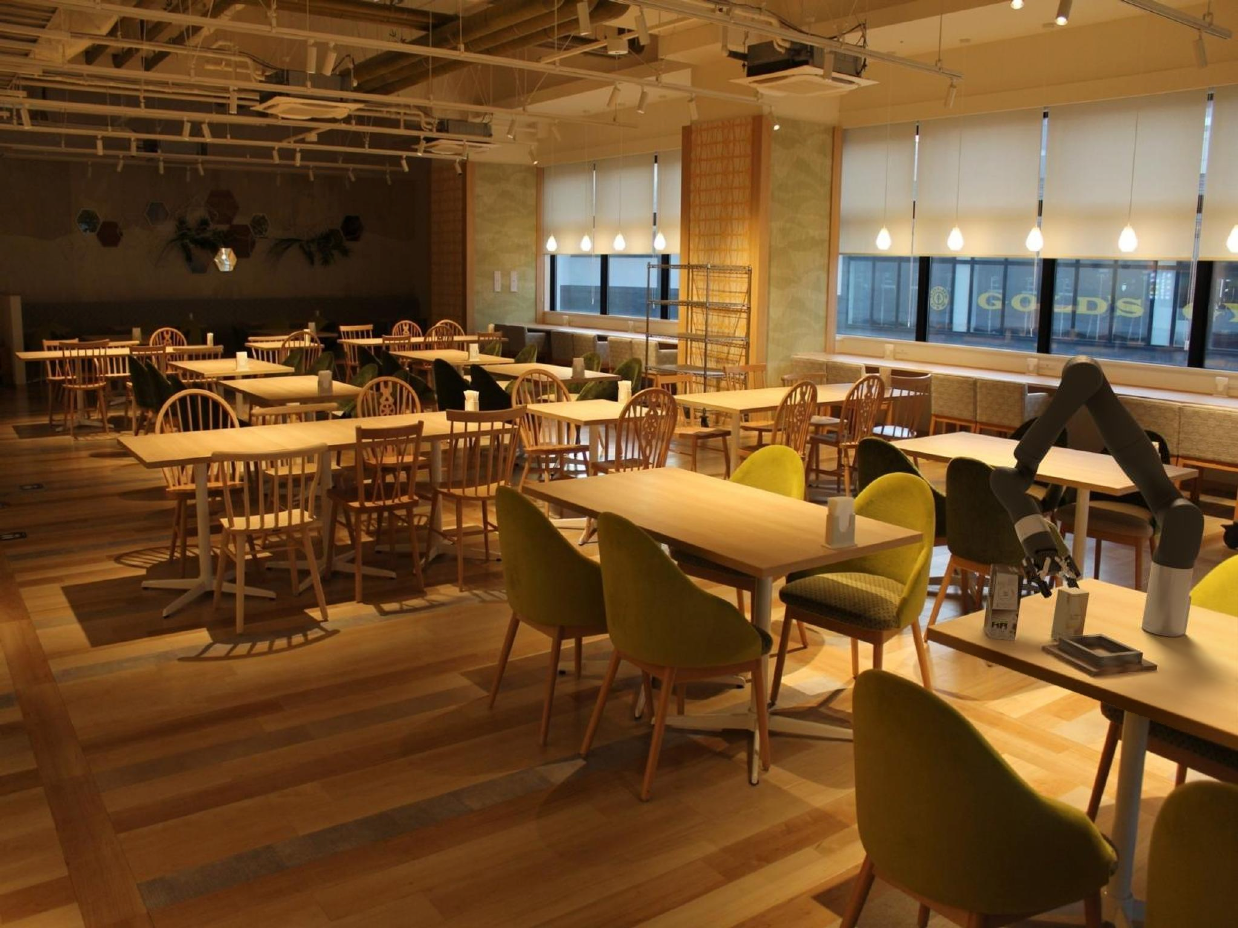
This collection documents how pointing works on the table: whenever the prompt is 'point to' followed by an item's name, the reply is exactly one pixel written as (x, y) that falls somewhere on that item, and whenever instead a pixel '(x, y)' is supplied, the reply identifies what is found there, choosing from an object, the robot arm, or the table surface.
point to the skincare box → (1069, 613)
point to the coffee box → (1003, 601)
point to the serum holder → (1099, 655)
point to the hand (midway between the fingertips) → (1063, 595)
